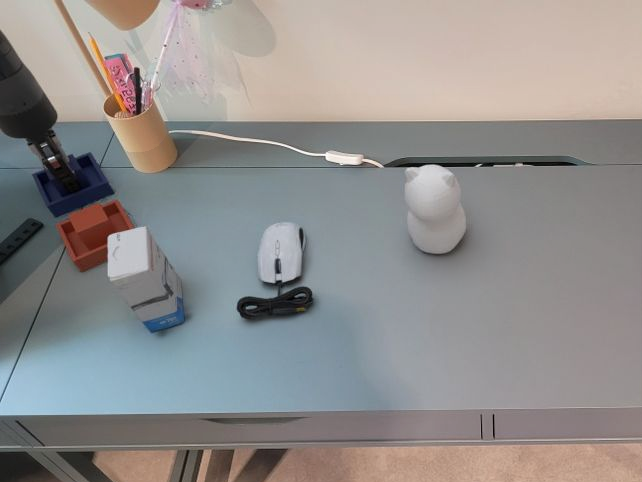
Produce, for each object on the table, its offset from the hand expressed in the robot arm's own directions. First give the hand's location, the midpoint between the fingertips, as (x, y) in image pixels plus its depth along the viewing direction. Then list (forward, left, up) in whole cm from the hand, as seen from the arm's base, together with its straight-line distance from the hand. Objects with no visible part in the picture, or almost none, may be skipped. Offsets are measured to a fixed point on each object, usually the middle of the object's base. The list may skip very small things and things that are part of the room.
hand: (73, 184), depth 105 cm
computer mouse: (+19, -36, -1) cm, 41 cm away
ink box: (+3, -32, -1) cm, 32 cm away
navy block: (0, 0, -1) cm, 1 cm away
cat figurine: (+42, -44, -1) cm, 61 cm away
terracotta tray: (0, -14, -1) cm, 14 cm away
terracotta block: (0, -14, -1) cm, 14 cm away
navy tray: (0, 0, -1) cm, 1 cm away
